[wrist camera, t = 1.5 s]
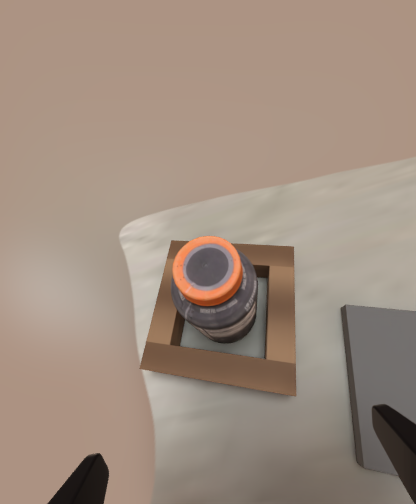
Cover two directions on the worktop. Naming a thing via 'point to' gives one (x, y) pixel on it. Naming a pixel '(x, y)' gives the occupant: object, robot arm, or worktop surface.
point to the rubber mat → (379, 373)
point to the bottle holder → (222, 364)
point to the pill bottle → (215, 288)
